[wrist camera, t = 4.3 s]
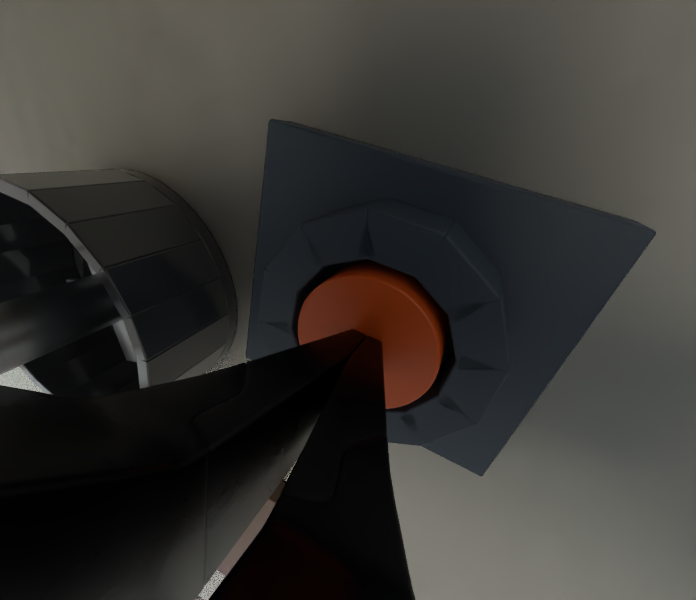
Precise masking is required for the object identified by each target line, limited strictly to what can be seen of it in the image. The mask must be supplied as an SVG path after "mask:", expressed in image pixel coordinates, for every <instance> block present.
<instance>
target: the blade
mask: <svg viewBox="0 0 696 600" xmlns="http://www.w3.org/2000/svg"><path fill="white" fill-rule="evenodd" d="M83 273H84V278H81V279H78V278H69V279H66V281H67V283H64V284H61V285H58V286H54V287H51V288H48V289H45V290H41V291H38V292H35V293H32V294H28V295H25V296H22V297H18V298H15V299H12V300H9V301H5V302H2V303H0V375H1V374H3V373H5V372H7V371H10V370H12V369H14V368H16V367H18V366H21V365H23V364H25V363H27V362H30V361H32V360H34V359H36V358H39V357H41V356H43V355H45V354H47V353H50V352H52V351H54V350H56V349H59V348H61V347H63V346H65V345H67V344H70V343H72V342H74V341H76V340H79V339H81V338H83V337H85V336H88V335H90V334H92V333H94V332H96V331H99V330H101V329H103V328H105V327H108V326H110V325H113V328H114V330H115V333H116V335H117V338H118V340H119V343H120V345H121V348H122V350H123V353H124V355H125V358H126V360H128V361H133V362H137V359H136V355H135V352H134V349H133V346H132V344H131V341H130V338H129V335H128V333H127V330H126V327H125V324H124V322H123V319H122V317H121V315H120V313H119V311H118V310H117V308H116V306H115V305H114V303H113V301H112V299H111V298H110V296H109V294H108V292H107V291H106V289H105V287H104V286H103V284H102V282H101V280H100V279H99V277H98V275H97V274H96V273H95V271H94V270H93V269H92V268H91V266H90V265H89V264H88V263H87V262H86V260H85V259H84V258H83Z"/></svg>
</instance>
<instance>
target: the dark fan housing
mask: <svg viewBox="0 0 696 600" xmlns="http://www.w3.org/2000/svg"><path fill="white" fill-rule="evenodd" d="M83 258H84V259H85V260H86V262H87V263H88V264H89V265H90V266H91V268H92V269H93V270H94V271H95V273H96V274H97V275H98V277H99V279H100V280H101V282H102V284H103V286H104V287H105V289H106V291H107V292H108V294H109V296H110V298H111V299H112V301H113V303H114V305H115V306H116V308H117V310H118V311H119V313H120V315H121V317H122V319H123V322H124V324H125V327H126V330H127V333H128V335H129V338H130V341H131V344H132V346H133V349H134V352H135V355H136V359H137V362H133V361H128V360H126V358H125V355H124V353H123V350H122V348H121V345H120V343H119V340H118V338H117V335H116V333H115V330H114V328H113V325H110V326H108V327H105V328H103V329H101V330H99V331H96V332H94V333H92V334H90V335H88V336H85V337H83V338H81V339H79V340H76V341H74V342H72V343H70V344H67V345H65V346H63V347H61V348H59V349H56V350H54V351H52V352H50V353H47V354H45V355H43V356H41V357H39V358H36V359H34V360H32V361H30V362H27V363H25V364H23V365H21V366H20V368H21V369H22V370H23V371H24V372H25V373H26V374H27V376H28V377H29V378H30V379H31V380H32V381H33V382H34V383H35V384H36V385H37V386H38V387H39V388H40V389H41V390H42V391H44V392H45V393H47V394H53V395H58V396H66V397H79V398H83V397H99V396H107V395H112V394H118V393H122V392H127V391H131V390H136V389H140V388H145V387H150V386H154V385H159V384H163V383H168V382H173V381H177V380H182V379H186V378H190V377H194V376H198V375H203V374H204V373H206V372H207V371H208V370H210V369H211V368H212V367H214V366H215V365H216V364H217V363H218V362H219V361H221V360H222V359H223V357H224V356H225V355H226V354H227V352H228V350H229V348H230V346H231V344H232V342H233V338H234V335H235V330H236V324H237V306H236V297H235V292H234V288H233V283H232V279H231V276H230V273H229V270H228V267H227V265H226V262H225V260H224V258H223V256H222V253H221V251H220V249H219V247H218V246H217V244H216V242H215V240H214V238H213V236H212V235H211V233H210V232H209V230H208V229H207V227H206V226H205V224H204V223H203V222H202V220H201V219H200V218H199V217H198V216H197V214H196V213H195V212H194V211H193V209H192V208H191V207H190V206H189V205H188V204H187V203H186V202H185V201H184V200H183V199H182V198H181V197H180V196H178V195H177V194H176V193H175V192H173V191H172V190H171V189H170V188H169V187H167V186H165V185H164V184H162V183H161V182H159V181H158V180H156V179H154V178H152V177H149V176H147V175H145V174H143V173H139V172H136V171H132V170H125V169H101V170H80V171H59V172H38V173H16V174H0V303H2V302H5V301H9V300H12V299H15V298H18V297H22V296H25V295H28V294H32V293H35V292H38V291H41V290H45V289H48V288H51V287H54V286H58V285H61V284H64V283H67V281H66V279H69V278H78V279H81V278H84V273H83Z"/></svg>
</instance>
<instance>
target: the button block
mask: <svg viewBox="0 0 696 600" xmlns="http://www.w3.org/2000/svg"><path fill="white" fill-rule="evenodd" d="M655 234H656V232H655V231H654V230H653V229H651V228H649V227H647V226H645V225H643V224H641V223H639V222H637V221H634V220H630V219H627V218H623V217H620V216H616V215H613V214H609V213H606V212H602V211H599V210H595V209H592V208H589V207H585V206H582V205H578V204H575V203H571V202H568V201H564V200H561V199H557V198H554V197H550V196H547V195H543V194H540V193H537V192H533V191H530V190H526V189H523V188H519V187H516V186H512V185H509V184H505V183H502V182H498V181H495V180H491V179H488V178H485V177H481V176H478V175H474V174H471V173H467V172H464V171H460V170H457V169H453V168H450V167H446V166H443V165H440V164H436V163H433V162H429V161H426V160H422V159H419V158H415V157H412V156H408V155H405V154H401V153H398V152H394V151H391V150H388V149H384V148H381V147H377V146H374V145H370V144H367V143H363V142H360V141H356V140H353V139H349V138H346V137H342V136H339V135H336V134H332V133H329V132H325V131H322V130H318V129H315V128H311V127H308V126H304V125H301V124H297V123H294V122H290V121H282V120H275V119H271V120H270V121H269V127H268V137H267V147H266V157H265V167H264V177H263V187H262V197H261V208H260V218H259V228H258V238H257V248H256V258H255V268H254V278H253V288H252V299H251V309H250V319H249V329H248V339H247V349H246V357H247V358H249V359H251V360H254V359H258V358H261V357H264V356H267V355H270V354H274V353H277V352H280V351H283V350H286V349H290V348H293V347H296V346H299V345H300V344H299V339H298V318H299V314H300V310H301V308H302V305H303V303H304V301H305V300H306V298H307V297H308V295H309V294H310V293H311V292H312V291H313V290H314V289H315V288H316V287H317V286H319V285H320V284H321V283H322V282H324V281H325V280H327V279H328V278H329V277H331V276H332V275H333V274H335V273H336V272H337V271H339V270H340V269H341V268H343V267H344V266H346V265H347V264H349V263H351V262H353V261H358V260H364V259H369V260H371V261H374V262H377V263H379V264H382V265H385V266H387V267H390V268H392V269H395V270H398V271H400V272H403V273H406V274H408V275H411V276H413V277H415V278H416V279H417V280H418V282H419V283H420V284H421V285H422V286H423V287H424V288H425V290H426V291H427V292H428V293H429V294H430V295H431V296H432V298H433V299H434V300H435V301H436V302H437V303H438V304H439V306H440V307H441V308H442V309H443V310H444V311H445V312H446V314H447V315H448V320H449V334H448V339H447V343H446V346H445V350H444V354H443V357H442V361H441V364H440V368H439V371H438V374H437V377H436V379H435V381H434V382H433V384H432V386H431V387H430V388H429V389H428V391H427V392H426V393H425V394H423V395H422V396H421V397H420V398H418V399H417V400H415V401H413V402H412V403H409V404H407V405H404V406H401V407H397V408H389V409H386V421H387V437H388V442H390V443H399V444H409V445H419V446H422V447H424V448H426V449H428V450H430V451H432V452H434V453H436V454H438V455H440V456H442V457H444V458H446V459H448V460H450V461H452V462H454V463H456V464H458V465H460V466H462V467H464V468H466V469H467V470H469V471H471V472H473V473H475V474H477V475H479V476H483V475H484V473H485V472H486V470H487V469H488V468H489V466H490V465H491V463H492V462H493V461H494V459H495V458H496V456H497V455H498V454H499V452H500V451H501V449H502V448H503V447H504V445H505V444H506V442H507V441H508V440H509V438H510V437H511V435H512V434H513V433H514V431H515V430H516V428H517V427H518V426H519V424H520V423H521V422H522V420H523V419H524V417H525V416H526V415H527V413H528V412H529V410H530V409H531V408H532V406H533V405H534V403H535V402H536V401H537V399H538V398H539V396H540V395H541V394H542V392H543V391H544V389H545V388H546V387H547V385H548V384H549V382H550V381H551V380H552V378H553V377H554V375H555V374H556V373H557V371H558V370H559V368H560V367H561V366H562V364H563V363H564V362H565V360H566V359H567V357H568V356H569V355H570V353H571V352H572V350H573V349H574V348H575V346H576V345H577V343H578V342H579V341H580V339H581V338H582V336H583V335H584V334H585V332H586V331H587V329H588V328H589V327H590V325H591V324H592V322H593V321H594V320H595V318H596V317H597V315H598V314H599V313H600V311H601V310H602V308H603V307H604V306H605V304H606V303H607V302H608V300H609V299H610V297H611V296H612V295H613V293H614V292H615V290H616V289H617V288H618V286H619V285H620V283H621V282H622V281H623V279H624V278H625V276H626V275H627V274H628V272H629V271H630V269H631V268H632V267H633V265H634V264H635V262H636V261H637V260H638V258H639V257H640V255H641V254H642V253H643V251H644V250H645V249H646V247H647V246H648V244H649V243H650V242H651V240H652V239H653V237H654V236H655Z"/></svg>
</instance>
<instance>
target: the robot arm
mask: <svg viewBox="0 0 696 600" xmlns="http://www.w3.org/2000/svg"><path fill="white" fill-rule="evenodd" d="M297 459H298V460H297ZM296 461H297V462H296ZM295 462H296V464H295V466H294V468H293V470H292V472H291V474H290V476H289V478H288V480H287V482H286V484H285V486H284V488H283V490H282V492H281V494H280V497H279V498H278V500H277V502H276V504H275V506H274V508H273V510H272V512H271V513H270V515H269V517H268V519H267V520H266V522H265V524H264V526H263V527H262V529H261V530H260V532H259V533H258V534H257V536H256V537H255V538H254V540H253V541H252V542H251V544H250V545H249V546H248V548H247V549H246V550H245V552H244V553H243V554H242V556H241V557H240V558H239V560H238V561H237V562H236V564H235V565H234V566H233V568H232V569H231V570H230V572H229V573H228V574H227V576H226V577H225V578H224V580H223V581H222V582H221V584H220V585H219V586H218V588H217V589H216V590H215V592H214V593H213V594H212V596H211V597H210V598H209V600H415V596H414V592H413V588H412V584H411V579H410V574H409V570H408V564H407V559H406V554H405V549H404V544H403V539H402V534H401V529H400V524H399V519H398V514H397V509H396V504H395V498H394V492H393V486H392V480H391V474H390V464H389V453H388V437H387V421H386V403H385V384H384V365H383V347H382V342H381V341H380V340H378V339H375V338H373V337H371V336H366V334H364V333H362V332H359V331H357V330H355V329H351V330H347V331H344V332H341V333H338V334H335V335H331V336H328V337H325V338H322V339H319V340H315V341H312V342H309V343H306V344H303V345H299V346H296V347H293V348H290V349H286V350H283V351H280V352H277V353H274V354H270V355H267V356H264V357H261V358H258V359H254V360H251V361H248V362H247V364H246V363H241V364H238V365H235V366H231V367H228V368H224V369H221V370H217V371H214V372H210V373H207V374H203V375H198V376H194V377H190V378H186V379H182V380H177V381H173V382H168V383H163V384H159V385H154V386H150V387H145V388H140V389H136V390H131V391H127V392H122V393H118V394H112V395H107V396H99V397H83V398H79V397H66V396H58V395H53V394H47V393H41V392H35V391H30V390H24V389H18V388H12V387H7V386H1V385H0V600H195V599H196V598H197V596H198V595H199V593H200V592H201V591H202V589H203V588H204V585H206V584H207V582H208V581H209V580H210V578H211V577H212V575H213V574H214V573H215V571H216V570H217V569H218V567H219V566H220V565H221V563H222V562H223V560H224V559H225V558H226V556H227V555H228V554H229V552H230V551H231V549H232V548H233V547H234V545H235V544H236V543H237V541H238V540H239V539H240V537H241V536H242V534H243V533H244V532H245V530H246V529H247V528H248V526H249V525H250V524H251V522H252V521H253V519H254V518H255V517H256V515H257V514H258V513H259V511H260V510H261V508H262V507H263V506H264V504H265V503H266V502H267V500H268V499H269V498H270V496H271V495H272V493H273V492H274V491H275V489H276V488H277V487H278V485H279V484H280V482H281V481H282V480H283V478H284V477H285V476H286V474H287V473H288V472H289V470H290V469H291V467H292V466H293V465H294V463H295Z"/></svg>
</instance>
